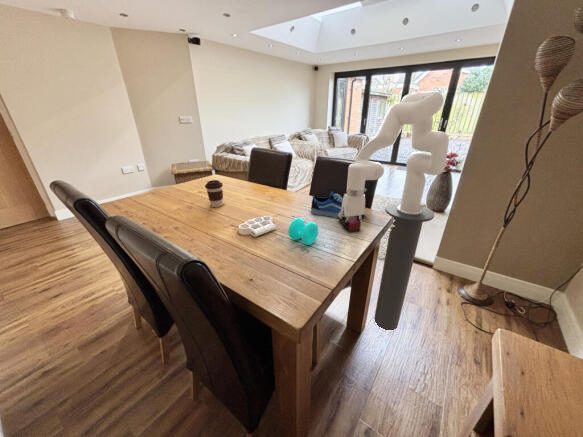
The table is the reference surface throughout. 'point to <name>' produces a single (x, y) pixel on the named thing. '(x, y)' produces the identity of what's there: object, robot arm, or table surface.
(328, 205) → the shoe
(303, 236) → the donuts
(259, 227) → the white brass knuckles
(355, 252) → the table surface
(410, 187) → the robot arm
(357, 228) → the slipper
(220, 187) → the coffee cup
